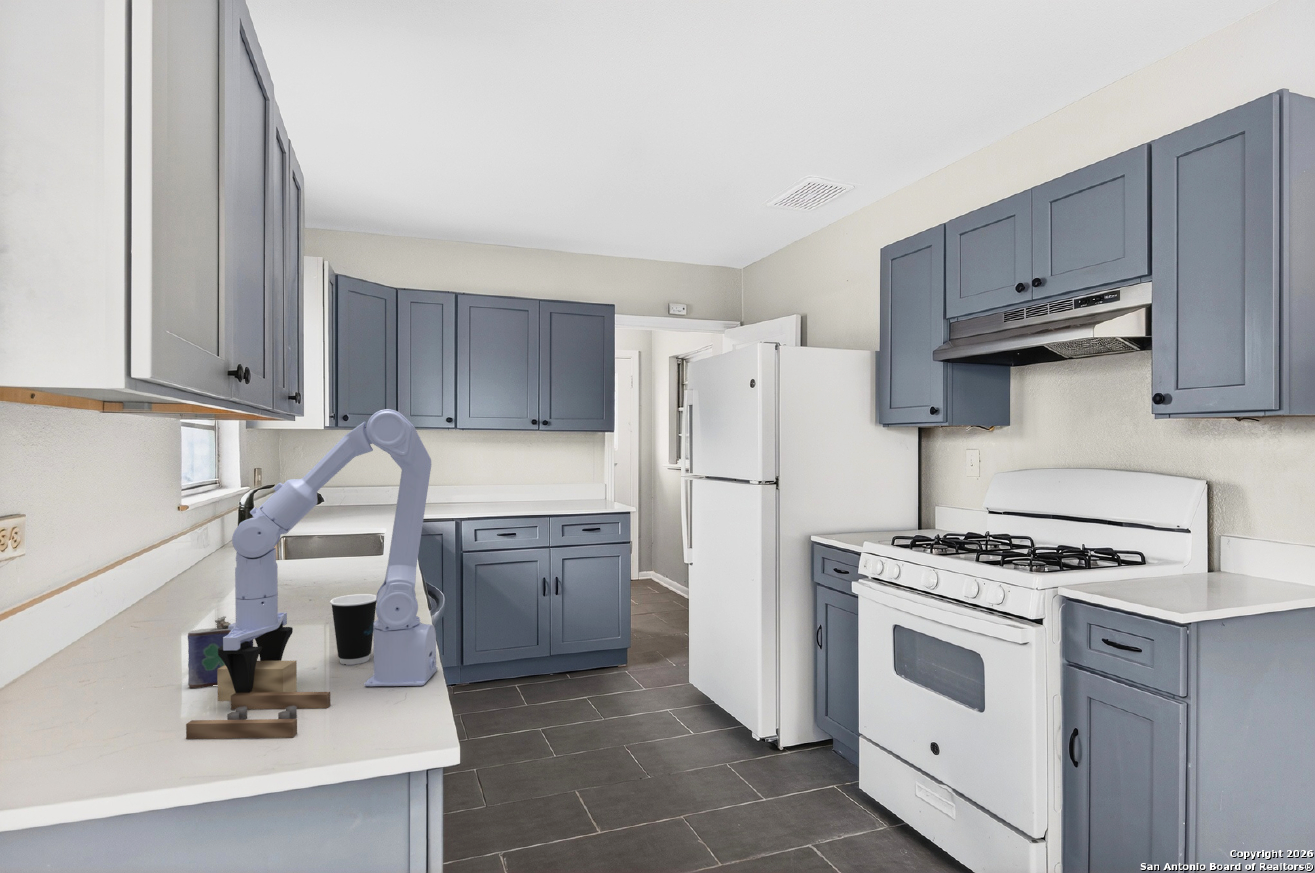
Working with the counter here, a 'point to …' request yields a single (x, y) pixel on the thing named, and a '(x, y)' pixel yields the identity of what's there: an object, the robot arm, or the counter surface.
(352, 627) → the dixie cup
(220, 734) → the peg frame
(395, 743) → the counter surface
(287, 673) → the light wooden block
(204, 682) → the flask
